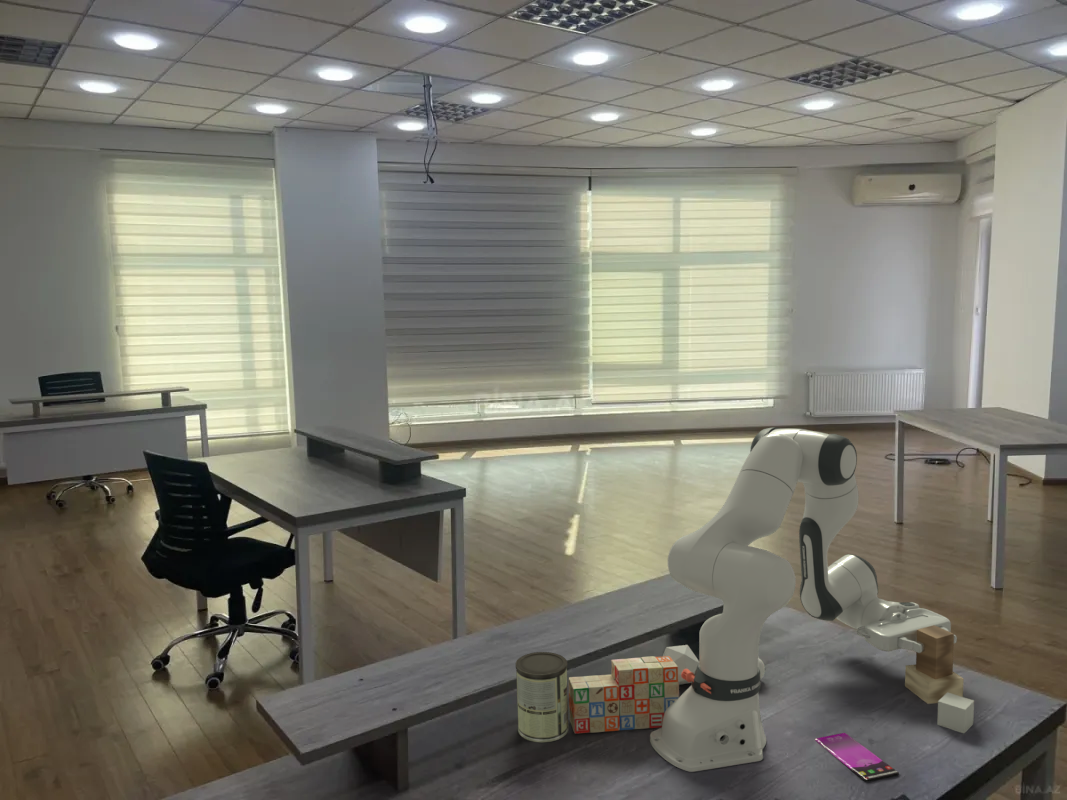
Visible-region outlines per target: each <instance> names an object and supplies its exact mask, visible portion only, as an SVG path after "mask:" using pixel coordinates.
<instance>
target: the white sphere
mask: <svg viewBox="0 0 1067 800" xmlns="http://www.w3.org/2000/svg"><path fill="white" fill-rule="evenodd" d="M765 667H766V666H765V664H764V662H763V660H762V659H761V658H760V657H758V668H759V669H760V680H762V679H763V678H764V676H765V674H766V673H765V672H766V668H765Z"/></svg>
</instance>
